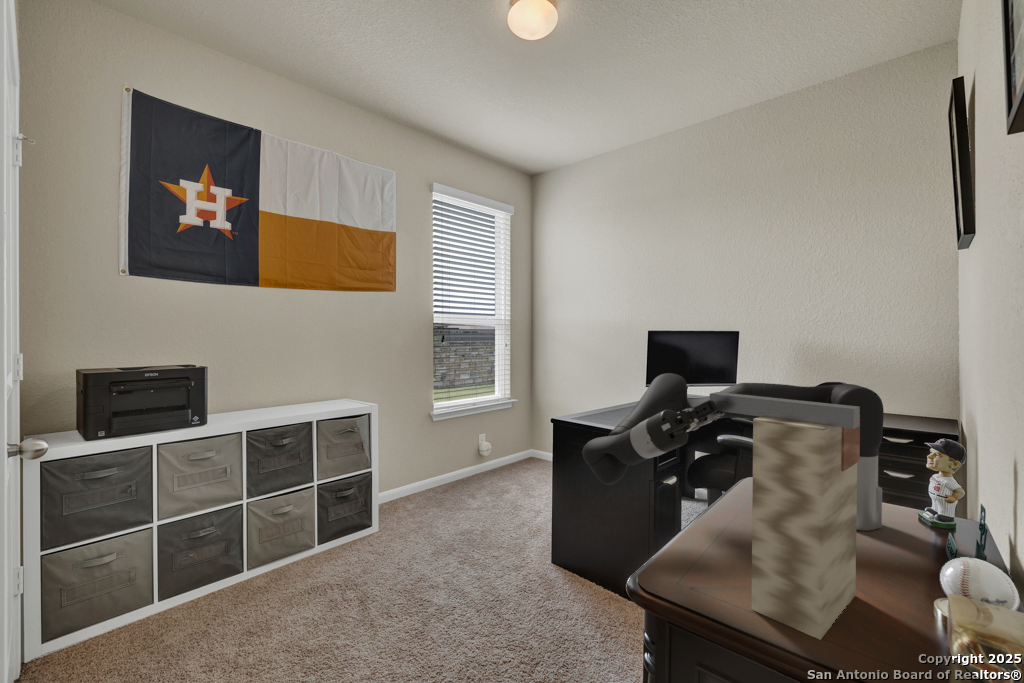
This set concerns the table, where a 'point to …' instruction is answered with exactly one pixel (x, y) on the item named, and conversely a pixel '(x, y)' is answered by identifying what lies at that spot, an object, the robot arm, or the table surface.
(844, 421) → the metal block
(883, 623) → the table surface
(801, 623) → the zigzag patterned pillar
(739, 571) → the table surface
